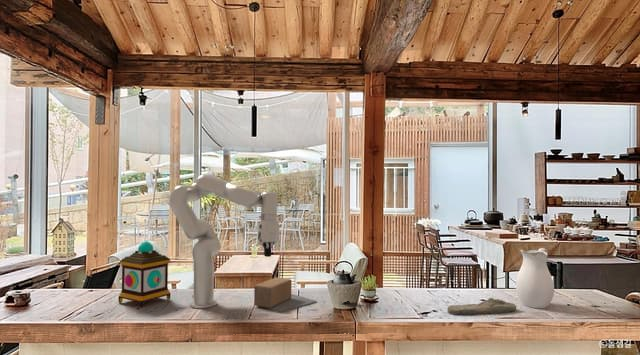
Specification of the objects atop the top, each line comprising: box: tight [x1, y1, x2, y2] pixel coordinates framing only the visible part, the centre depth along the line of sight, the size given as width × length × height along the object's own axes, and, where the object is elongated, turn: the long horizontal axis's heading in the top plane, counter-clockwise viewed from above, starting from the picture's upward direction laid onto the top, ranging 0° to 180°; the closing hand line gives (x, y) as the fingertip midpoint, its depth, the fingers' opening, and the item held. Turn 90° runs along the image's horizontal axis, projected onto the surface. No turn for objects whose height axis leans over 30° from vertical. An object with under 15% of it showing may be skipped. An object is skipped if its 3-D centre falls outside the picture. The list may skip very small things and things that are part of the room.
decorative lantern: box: [117, 240, 171, 309], centre depth 206 cm, size 20×20×30 cm
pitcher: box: [515, 247, 555, 309], centre depth 209 cm, size 24×17×28 cm
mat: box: [265, 293, 318, 313], centre depth 205 cm, size 18×24×1 cm
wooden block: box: [253, 277, 292, 309], centre depth 205 cm, size 10×10×20 cm
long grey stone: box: [447, 297, 517, 316], centre depth 195 cm, size 35×5×10 cm
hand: (267, 256), depth 197 cm, fingers closed
